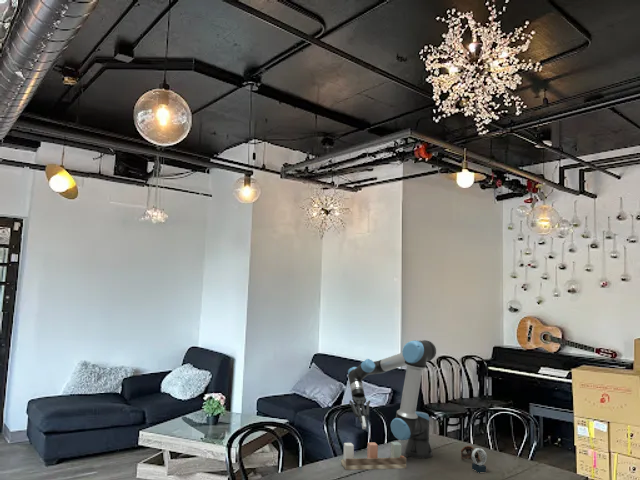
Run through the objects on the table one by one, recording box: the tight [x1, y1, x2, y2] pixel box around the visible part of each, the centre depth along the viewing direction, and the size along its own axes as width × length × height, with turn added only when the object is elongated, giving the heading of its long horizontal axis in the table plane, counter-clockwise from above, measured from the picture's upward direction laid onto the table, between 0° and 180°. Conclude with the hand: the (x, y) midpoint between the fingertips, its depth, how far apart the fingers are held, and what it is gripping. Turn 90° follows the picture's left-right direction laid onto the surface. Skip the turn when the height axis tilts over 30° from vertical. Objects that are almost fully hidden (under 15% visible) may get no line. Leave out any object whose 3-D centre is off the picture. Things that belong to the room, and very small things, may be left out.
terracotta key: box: [366, 441, 379, 458], centre depth 247 cm, size 4×5×8 cm
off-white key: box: [343, 442, 355, 462], centre depth 245 cm, size 4×5×8 cm
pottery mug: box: [460, 445, 481, 461], centre depth 262 cm, size 12×10×8 cm
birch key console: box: [340, 454, 407, 471], centre depth 245 cm, size 32×10×6 cm, turn 101°
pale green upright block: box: [390, 441, 402, 458], centre depth 250 cm, size 4×5×8 cm
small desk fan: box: [471, 447, 488, 474], centre depth 243 cm, size 6×8×11 cm
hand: (364, 427), depth 263 cm, fingers closed
